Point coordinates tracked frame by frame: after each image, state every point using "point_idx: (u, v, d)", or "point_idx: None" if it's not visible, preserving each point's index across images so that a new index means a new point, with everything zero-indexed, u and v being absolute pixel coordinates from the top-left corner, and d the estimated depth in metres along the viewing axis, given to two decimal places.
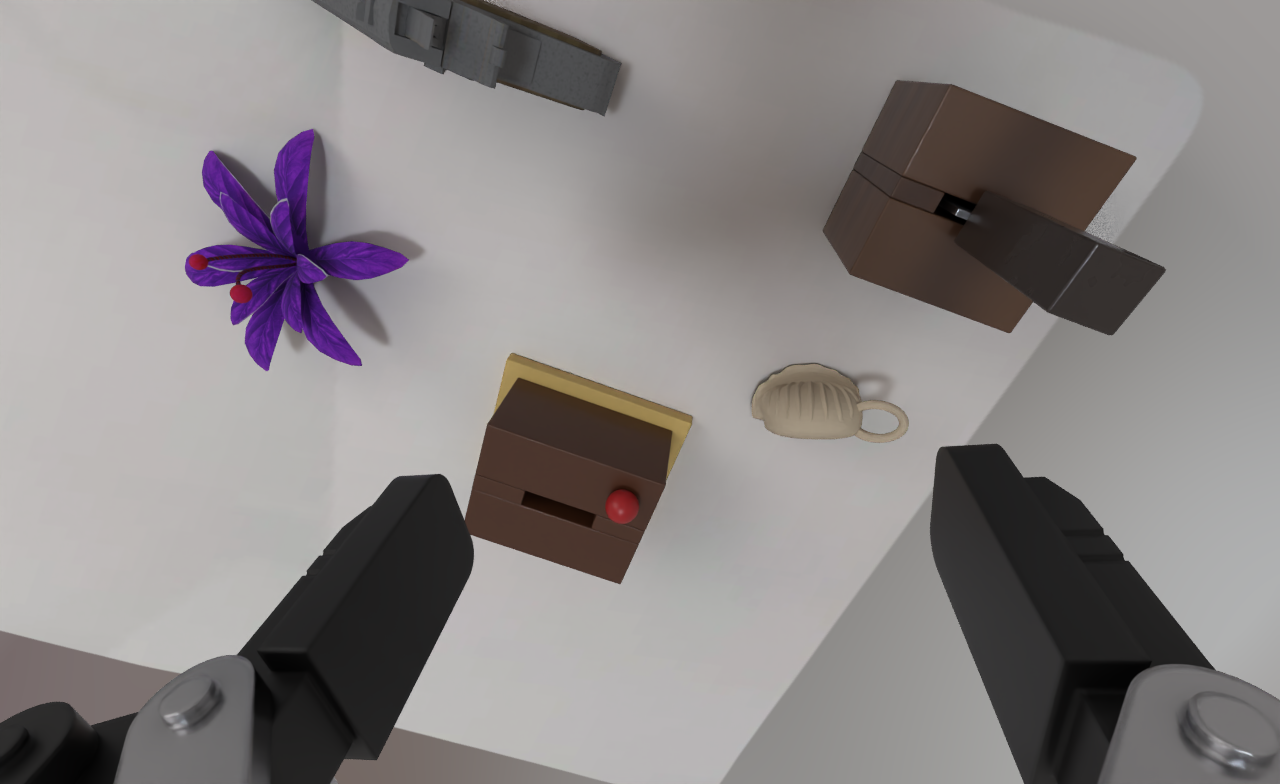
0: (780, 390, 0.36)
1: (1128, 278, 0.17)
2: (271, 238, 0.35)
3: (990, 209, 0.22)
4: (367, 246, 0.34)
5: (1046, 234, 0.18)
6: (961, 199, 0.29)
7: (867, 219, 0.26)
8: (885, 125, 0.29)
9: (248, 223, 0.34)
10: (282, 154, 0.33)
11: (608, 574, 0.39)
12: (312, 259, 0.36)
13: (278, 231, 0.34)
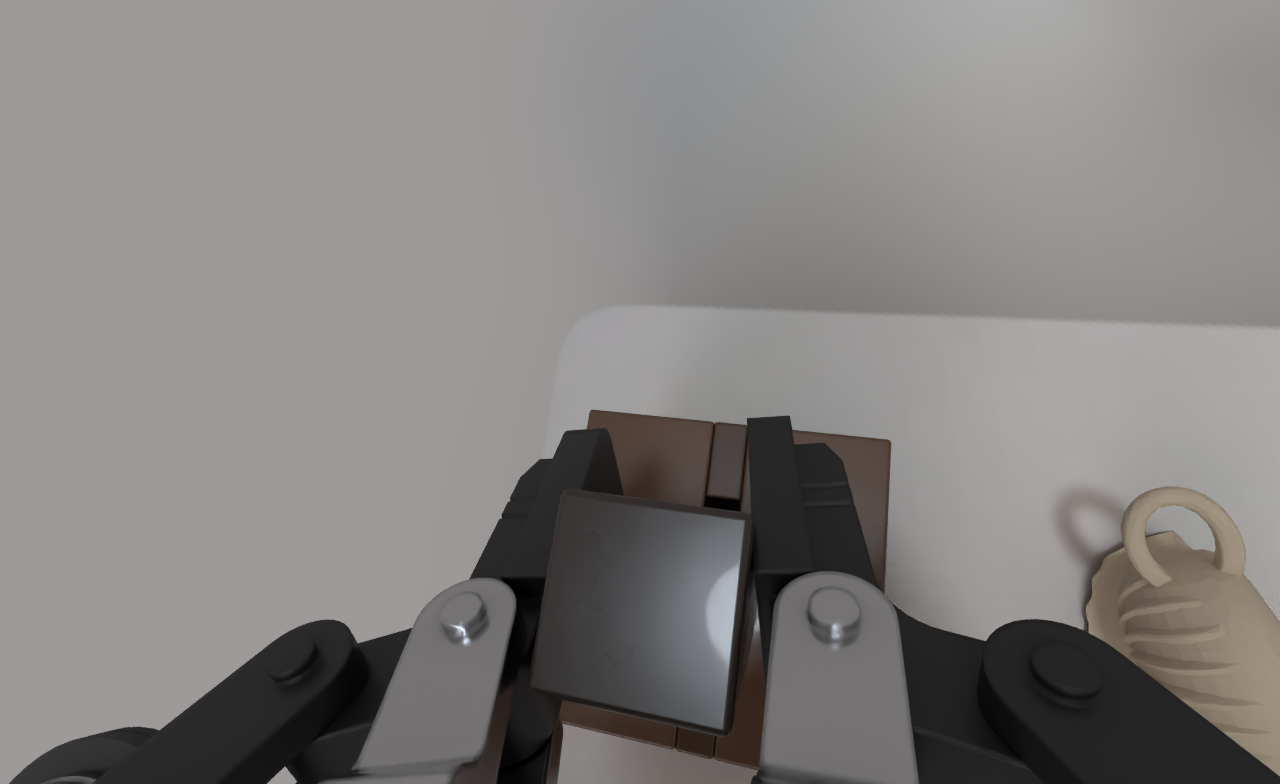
0: None
1: (595, 566, 0.06)
2: None
3: None
4: None
5: None
6: None
7: None
8: None
9: None
10: None
11: None
12: None
13: None
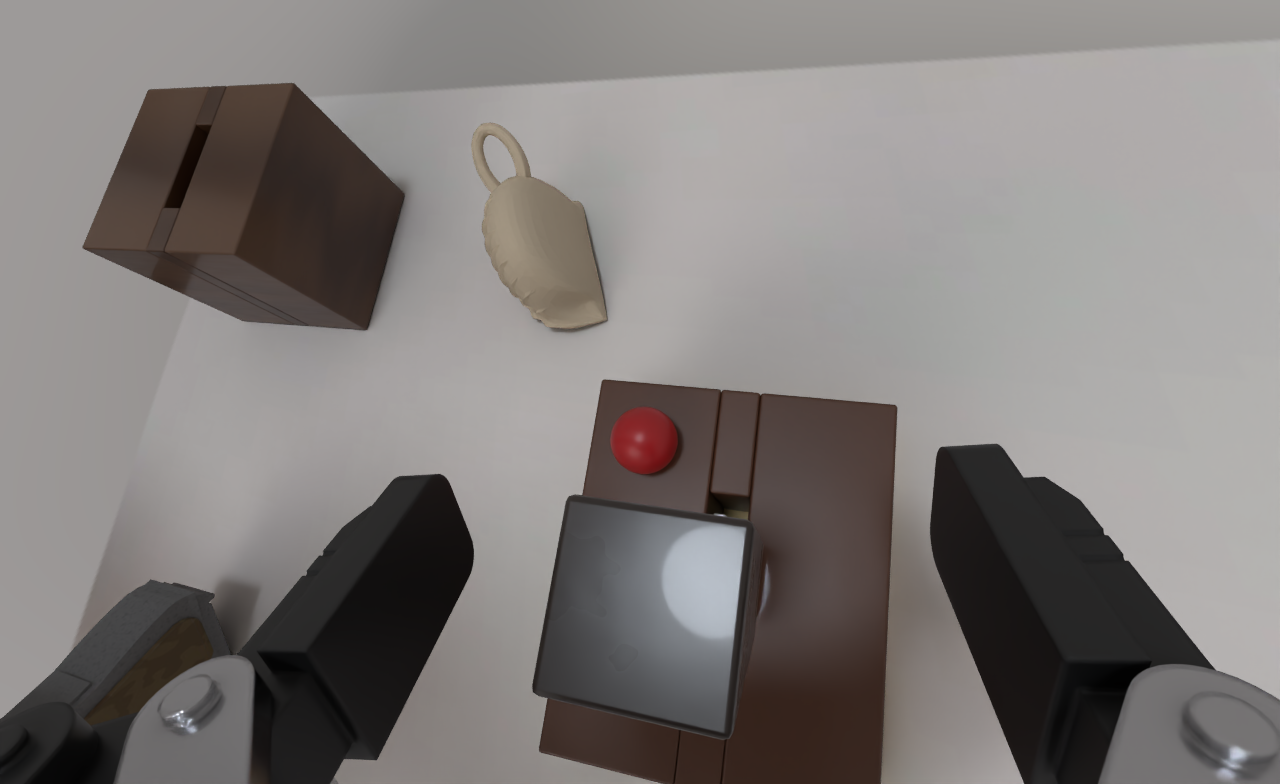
0: (514, 292, 0.26)
1: (599, 571, 0.07)
2: None
3: None
4: None
5: None
6: None
7: (217, 267, 0.24)
8: (240, 307, 0.30)
9: None
10: None
11: (874, 436, 0.17)
12: None
13: None
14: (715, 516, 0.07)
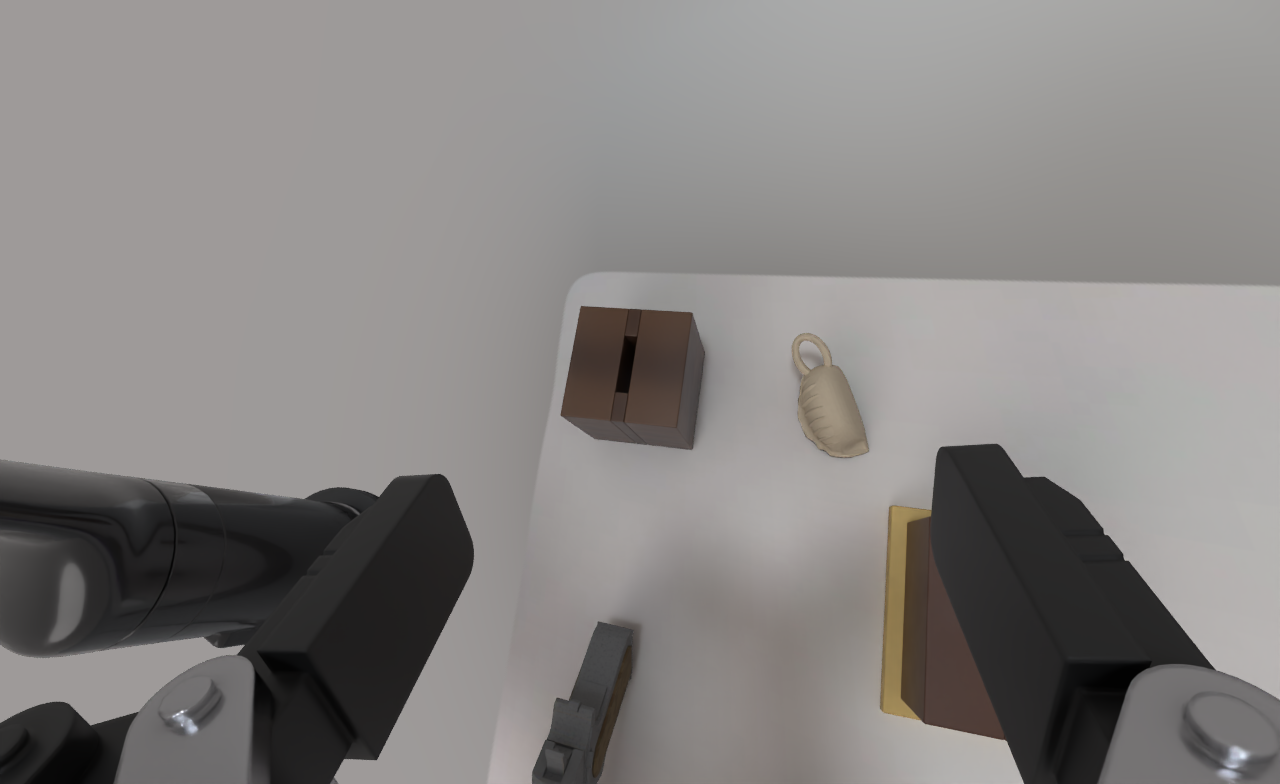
0: (819, 438, 0.41)
1: None
2: None
3: None
4: None
5: None
6: None
7: (646, 428, 0.39)
8: (611, 436, 0.45)
9: None
10: None
11: None
12: None
13: None
14: None
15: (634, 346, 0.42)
